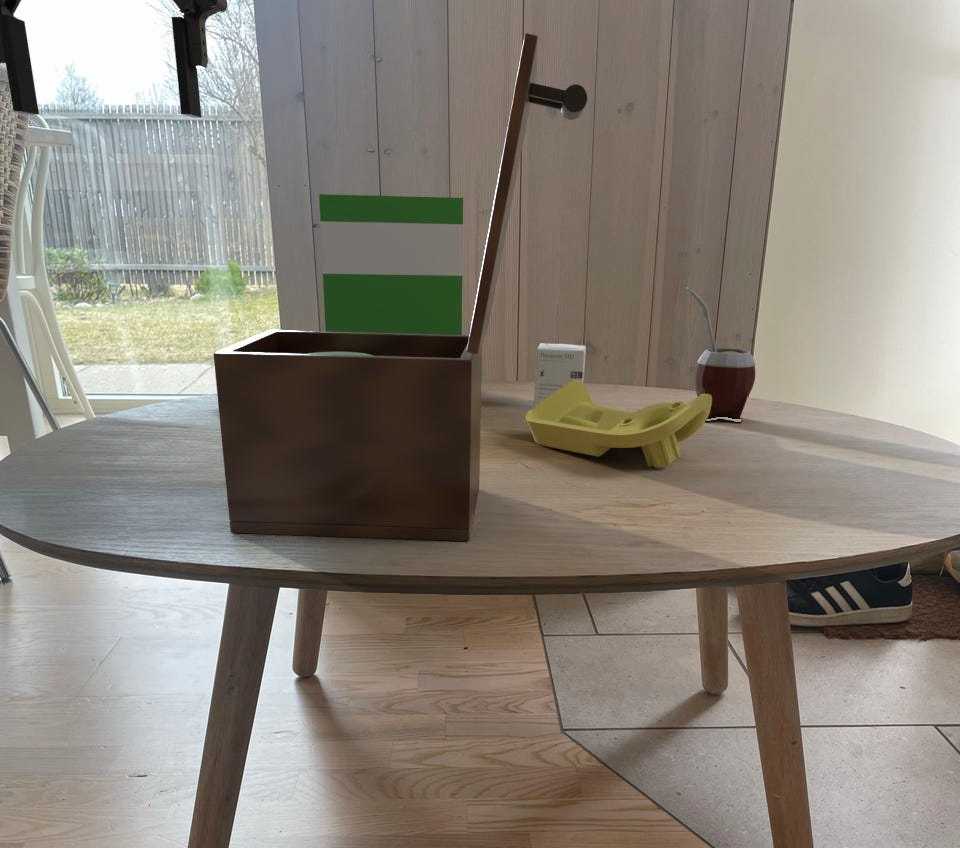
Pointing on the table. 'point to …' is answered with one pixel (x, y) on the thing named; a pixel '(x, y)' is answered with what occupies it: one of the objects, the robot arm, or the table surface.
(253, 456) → the chest
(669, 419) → the plastic component
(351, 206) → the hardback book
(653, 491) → the table surface
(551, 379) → the product carton
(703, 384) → the mate gourd
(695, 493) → the table surface
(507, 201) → the lid
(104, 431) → the table surface
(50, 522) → the table surface
